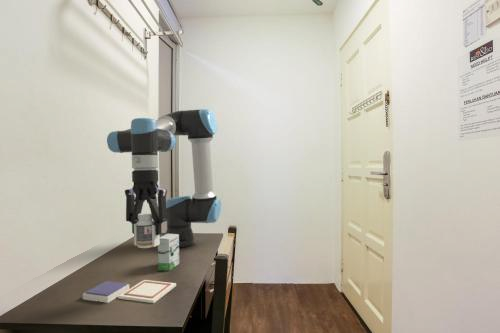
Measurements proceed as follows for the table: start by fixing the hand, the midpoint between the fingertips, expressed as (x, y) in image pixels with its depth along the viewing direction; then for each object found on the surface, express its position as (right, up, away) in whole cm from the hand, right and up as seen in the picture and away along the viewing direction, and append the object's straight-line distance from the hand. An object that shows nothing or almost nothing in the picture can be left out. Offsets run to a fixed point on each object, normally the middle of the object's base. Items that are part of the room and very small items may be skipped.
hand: (147, 244), depth 89 cm
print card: (0, -15, 0) cm, 15 cm away
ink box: (+1, -15, +22) cm, 26 cm away
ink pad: (-12, -15, -1) cm, 19 cm away
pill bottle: (0, -1, 0) cm, 1 cm away
